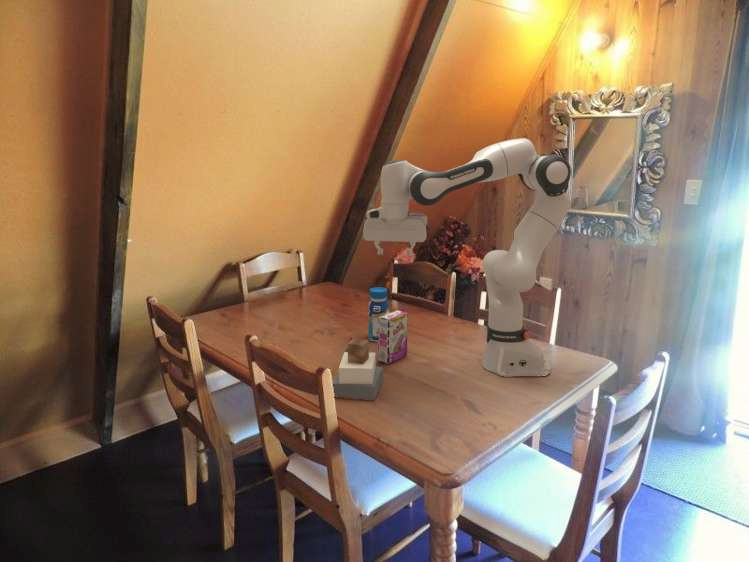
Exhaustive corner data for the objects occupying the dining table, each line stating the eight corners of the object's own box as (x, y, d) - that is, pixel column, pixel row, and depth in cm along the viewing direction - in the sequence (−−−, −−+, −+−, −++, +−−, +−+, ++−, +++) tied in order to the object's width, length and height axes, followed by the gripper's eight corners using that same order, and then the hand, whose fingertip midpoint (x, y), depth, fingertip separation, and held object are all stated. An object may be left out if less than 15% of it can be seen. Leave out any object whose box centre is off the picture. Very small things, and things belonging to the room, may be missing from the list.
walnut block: (368, 358, 173) (368, 339, 171) (363, 364, 168) (362, 345, 167) (353, 356, 174) (353, 338, 173) (347, 362, 170) (347, 343, 168)
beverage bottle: (376, 333, 223) (375, 285, 218) (393, 337, 218) (393, 288, 213) (363, 339, 216) (362, 290, 211) (381, 344, 211) (381, 293, 206)
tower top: (375, 367, 178) (375, 352, 177) (372, 384, 166) (372, 368, 165) (344, 366, 179) (344, 352, 178) (339, 383, 167) (338, 367, 165)
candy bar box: (389, 365, 191) (388, 319, 187) (377, 361, 194) (377, 317, 190) (408, 355, 200) (408, 312, 196) (397, 352, 203) (397, 309, 199)
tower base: (383, 381, 180) (382, 366, 178) (374, 402, 165) (373, 386, 164) (344, 378, 182) (343, 364, 181) (331, 398, 168) (331, 383, 167)
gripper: (428, 211, 177) (427, 254, 180) (365, 210, 181) (366, 252, 184) (426, 213, 171) (425, 257, 174) (361, 212, 175) (362, 255, 179)
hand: (394, 254), depth 179 cm, fingers open, 8 cm apart
